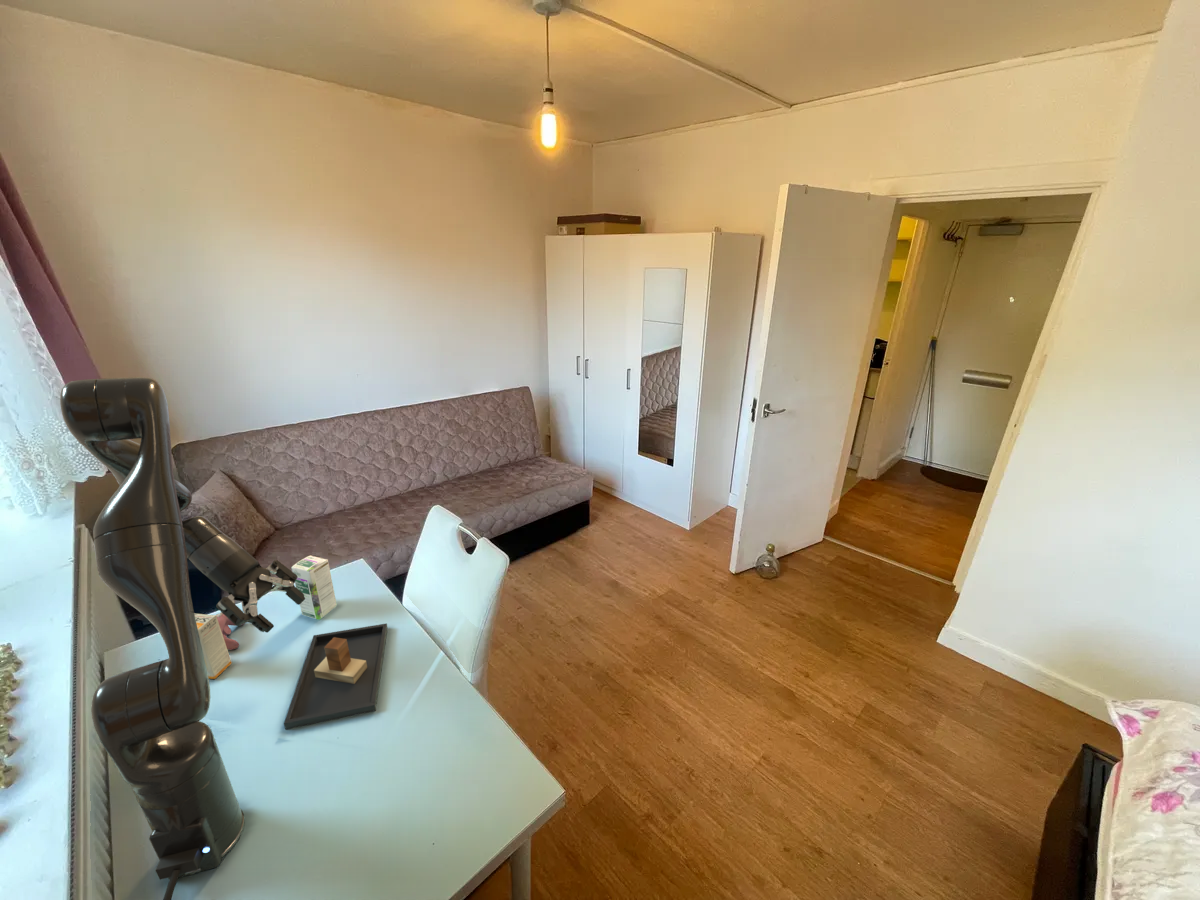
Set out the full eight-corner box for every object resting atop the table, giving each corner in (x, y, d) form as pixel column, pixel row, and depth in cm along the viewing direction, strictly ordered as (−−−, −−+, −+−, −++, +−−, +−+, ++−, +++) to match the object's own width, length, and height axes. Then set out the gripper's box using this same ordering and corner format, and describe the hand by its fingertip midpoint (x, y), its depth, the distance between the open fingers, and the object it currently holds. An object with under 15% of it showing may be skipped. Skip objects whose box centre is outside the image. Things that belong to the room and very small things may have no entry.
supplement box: (233, 662, 106) (218, 614, 101) (215, 680, 102) (198, 630, 97) (198, 658, 107) (181, 610, 102) (178, 676, 102) (159, 626, 97)
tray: (376, 712, 96) (374, 705, 95) (286, 731, 91) (283, 723, 91) (388, 630, 117) (386, 623, 116) (315, 642, 112) (313, 635, 111)
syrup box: (301, 616, 120) (289, 567, 115) (320, 601, 125) (309, 553, 120) (319, 621, 118) (308, 572, 113) (338, 606, 124) (328, 558, 118)
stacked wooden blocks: (367, 667, 105) (362, 638, 102) (354, 684, 101) (348, 654, 98) (329, 661, 106) (323, 632, 104) (315, 677, 102) (308, 647, 99)
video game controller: (230, 631, 117) (207, 613, 113) (249, 619, 118) (226, 601, 114) (221, 660, 108) (195, 642, 105) (240, 647, 109) (216, 629, 106)
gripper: (199, 573, 90) (268, 631, 92) (261, 533, 103) (320, 585, 105) (183, 592, 92) (250, 648, 95) (245, 551, 105) (303, 601, 108)
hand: (287, 615), depth 100 cm, fingers open, 8 cm apart
